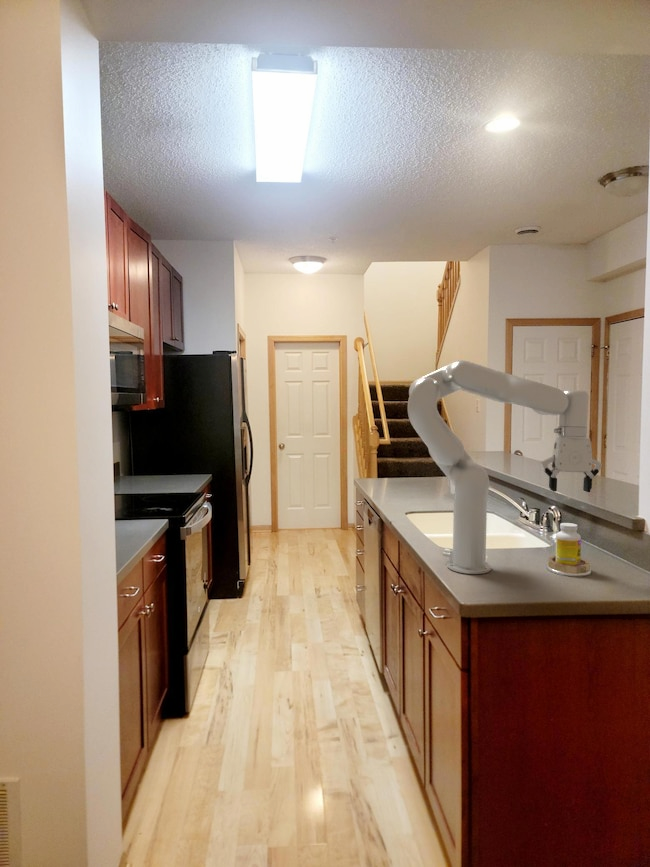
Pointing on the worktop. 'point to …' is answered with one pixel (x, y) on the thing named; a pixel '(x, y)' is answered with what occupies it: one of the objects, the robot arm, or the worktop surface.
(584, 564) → the flange plate
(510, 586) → the worktop surface
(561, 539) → the supplement bottle
